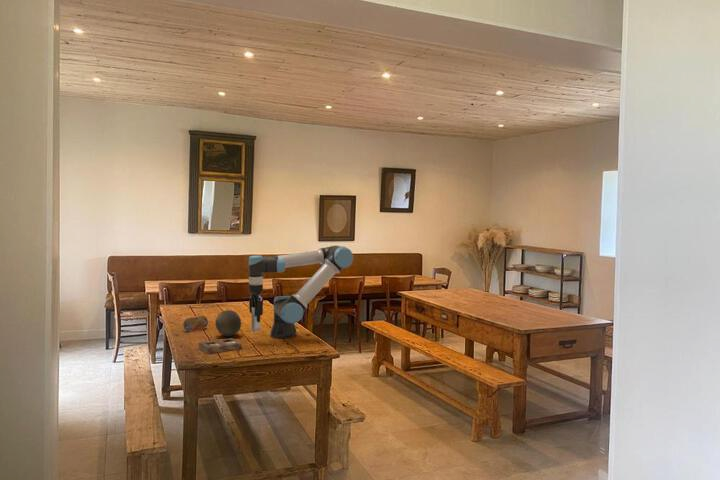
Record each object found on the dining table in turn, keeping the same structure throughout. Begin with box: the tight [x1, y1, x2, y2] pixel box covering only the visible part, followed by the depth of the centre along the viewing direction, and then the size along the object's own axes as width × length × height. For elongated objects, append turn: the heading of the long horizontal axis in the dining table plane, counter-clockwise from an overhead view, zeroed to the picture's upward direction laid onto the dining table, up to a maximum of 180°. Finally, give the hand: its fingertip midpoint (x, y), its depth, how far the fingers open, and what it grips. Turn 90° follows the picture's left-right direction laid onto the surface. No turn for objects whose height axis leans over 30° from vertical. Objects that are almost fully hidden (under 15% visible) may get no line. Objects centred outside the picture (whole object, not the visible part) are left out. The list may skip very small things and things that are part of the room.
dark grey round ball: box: [215, 309, 242, 337], centre depth 297 cm, size 14×14×15 cm
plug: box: [251, 307, 261, 333], centre depth 283 cm, size 3×3×13 cm
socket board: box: [198, 337, 243, 355], centre depth 271 cm, size 18×13×3 cm
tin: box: [182, 315, 209, 333], centre depth 311 cm, size 15×3×8 cm, turn 137°
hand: (256, 326), depth 284 cm, fingers closed on plug, 3 cm apart
